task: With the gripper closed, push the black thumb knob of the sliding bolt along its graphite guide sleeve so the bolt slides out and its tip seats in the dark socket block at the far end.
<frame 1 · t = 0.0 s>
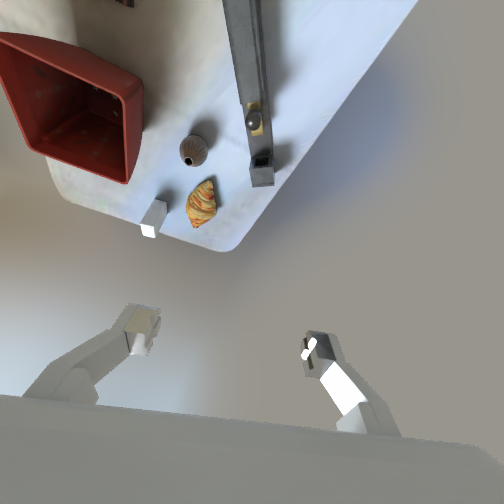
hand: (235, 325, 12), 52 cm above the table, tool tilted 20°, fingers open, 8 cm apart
croissant: (203, 202, 72), on the table
plant pot: (115, 96, 49), on the table
sliding bolt: (249, 77, 40), point 5 cm above the table, slide at 0.0 cm
vase: (197, 144, 56), on the table
guide: (255, 105, 48), on the table
skincare box: (161, 206, 75), on the table
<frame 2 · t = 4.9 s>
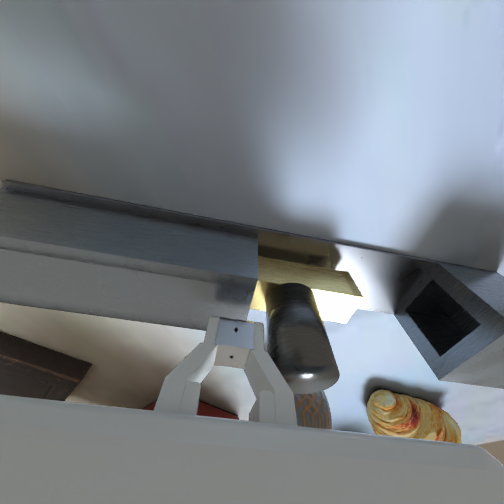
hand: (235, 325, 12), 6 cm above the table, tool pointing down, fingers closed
croissant: (403, 406, 32), on the table
plant pot: (187, 413, 34), on the table
sliding bolt: (185, 297, 12), point 5 cm above the table, slide at 0.2 cm, touching gripper
vase: (293, 375, 27), on the table
guide: (275, 265, 17), on the table
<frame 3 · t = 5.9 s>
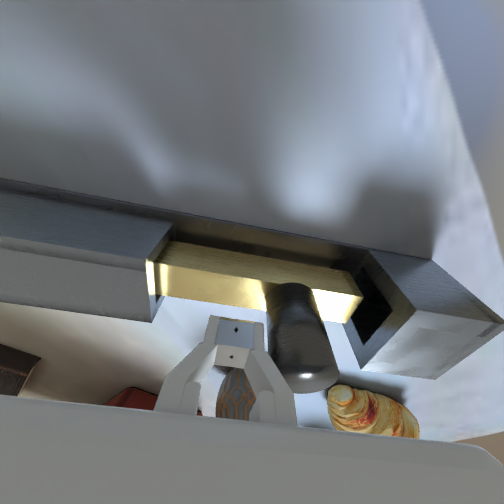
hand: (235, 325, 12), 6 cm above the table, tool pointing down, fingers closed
croissant: (367, 402, 31), on the table
plant pot: (150, 409, 33), on the table
sliding bolt: (185, 297, 12), point 5 cm above the table, slide at 6.0 cm, touching gripper
vase: (248, 370, 26), on the table
guide: (203, 252, 16), on the table
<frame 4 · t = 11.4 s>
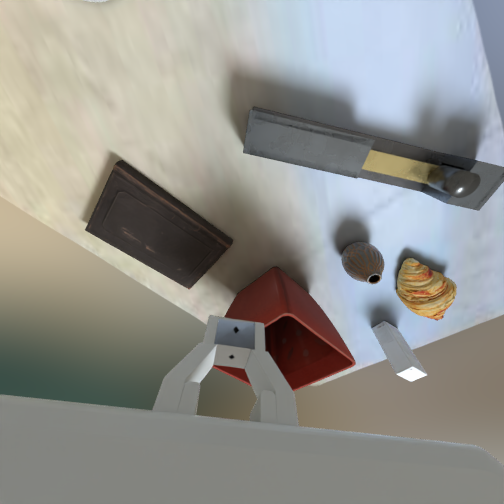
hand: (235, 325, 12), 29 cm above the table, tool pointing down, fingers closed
croissant: (418, 283, 48), on the table
plant pot: (274, 294, 51), on the table
sliding bolt: (403, 169, 30), point 5 cm above the table, slide at 9.9 cm, touching guide
vase: (354, 250, 43), on the table
guide: (363, 157, 33), on the table
skincare box: (384, 327, 57), on the table
hardcover book: (164, 231, 42), on the table
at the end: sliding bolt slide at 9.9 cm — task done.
